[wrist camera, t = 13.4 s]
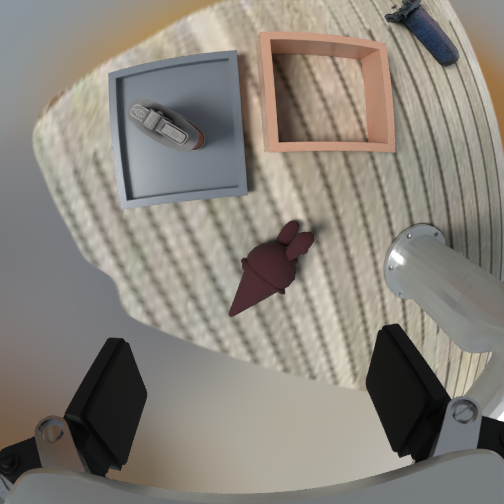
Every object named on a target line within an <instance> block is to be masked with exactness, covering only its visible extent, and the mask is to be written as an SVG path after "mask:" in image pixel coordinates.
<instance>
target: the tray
mask: <svg viewBox="0 0 504 504" xmlns="http://www.w3.org/2000/svg"><path fill="white" fill-rule="evenodd" d="M108 76H109V108H110V124H111V136H112V147H113V156H114V165H115V173H116V180H117V187H118V194H119V200H120V206H121V210H122V209H129V208H136V207H143V206H150V205H158V204H166V203H174V202H182V201H191V200H201V199H210V198H220V197H231V196H243V195H248V192H247V179H246V166H245V153H244V140H243V127H242V114H241V101H240V88H239V74H238V61H237V50H234V51H222V52H212V53H203V54H196V55H189V56H182V57H176V58H170V59H165V60H160V61H155V62H150V63H146V64H141V65H137V66H133V67H129V68H125V69H122V70H118V71H114V72H111V73H108ZM140 98H143V99H147V100H150V101H153V102H156V103H159V104H161V105H163V106H165V107H167V108H169V109H171V110H173V111H174V112H176V113H178V114H180V115H182V116H184V117H185V118H187V119H188V120H189V121H191V122H192V123H194V124H195V125H196V126H197V127H198V128H199V129H200V130H201V131H202V132H203V133H204V134H205V136H206V142H205V144H204V146H203V147H202V148H201V149H200V150H197V151H188V152H180V151H177V150H174V149H172V148H169V147H166V146H164V145H162V144H161V143H159V142H157V141H155V140H153V139H151V138H150V137H149V136H147V135H146V134H144V133H143V132H142V131H140V130H139V129H138V128H137V127H136V126H135V125H134V124H133V123H132V122H131V121H130V120H129V118H128V109H129V107H130V105H131V104H132V103H133V102H134V101H135V100H137V99H140Z"/></svg>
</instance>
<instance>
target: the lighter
mask: <svg viewBox="0 0 504 504" xmlns="http://www.w3.org/2000/svg"><path fill="white" fill-rule="evenodd" d="M128 118H129V120H130V121H131V122H132V123H133V124H134V125H135V126H136V127H137V128H138V129H139V130H140V131H142V132H143V133H144V134H146V135H147V136H149V137H150V138H151V139H153V140H155V141H157V142H159V143H161V144H162V145H164V146H166V147H169V148H172V149H174V150H177V151H180V152H188V151H197V150H200V149H201V148H202V147H203V146H204V144H205V142H206V136H205V134H204V133H203V132H202V131H201V130H200V129H199V128H198V127H197V126H196V125H195V124H194V123H192V122H191V121H189V120H188V119H187V118H185V117H184V116H182V115H180V114H178V113H176V112H174V111H173V110H171V109H169V108H167V107H165V106H163V105H161V104H159V103H156V102H153V101H150V100H147V99H143V98H140V99H137V100H135V101H134V102H133V103H132V104H131V105H130V107H129V109H128Z"/></svg>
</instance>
